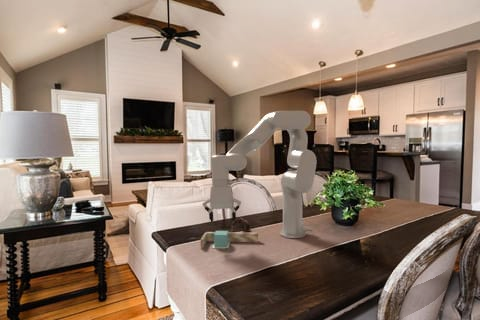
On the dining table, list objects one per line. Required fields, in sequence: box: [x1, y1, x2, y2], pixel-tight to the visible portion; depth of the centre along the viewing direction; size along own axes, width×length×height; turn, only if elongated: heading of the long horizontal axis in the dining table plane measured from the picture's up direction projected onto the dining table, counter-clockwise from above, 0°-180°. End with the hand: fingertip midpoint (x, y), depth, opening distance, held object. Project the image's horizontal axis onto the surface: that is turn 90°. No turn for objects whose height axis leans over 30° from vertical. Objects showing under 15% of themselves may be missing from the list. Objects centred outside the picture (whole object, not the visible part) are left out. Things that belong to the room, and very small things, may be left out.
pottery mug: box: [230, 217, 252, 233], centre depth 142 cm, size 12×10×8 cm
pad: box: [211, 242, 231, 249], centre depth 123 cm, size 7×7×1 cm
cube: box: [213, 230, 229, 247], centre depth 122 cm, size 6×6×6 cm
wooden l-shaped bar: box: [200, 231, 259, 250], centre depth 123 cm, size 25×10×4 cm, turn 86°
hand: (222, 220), depth 122 cm, fingers open, 9 cm apart
